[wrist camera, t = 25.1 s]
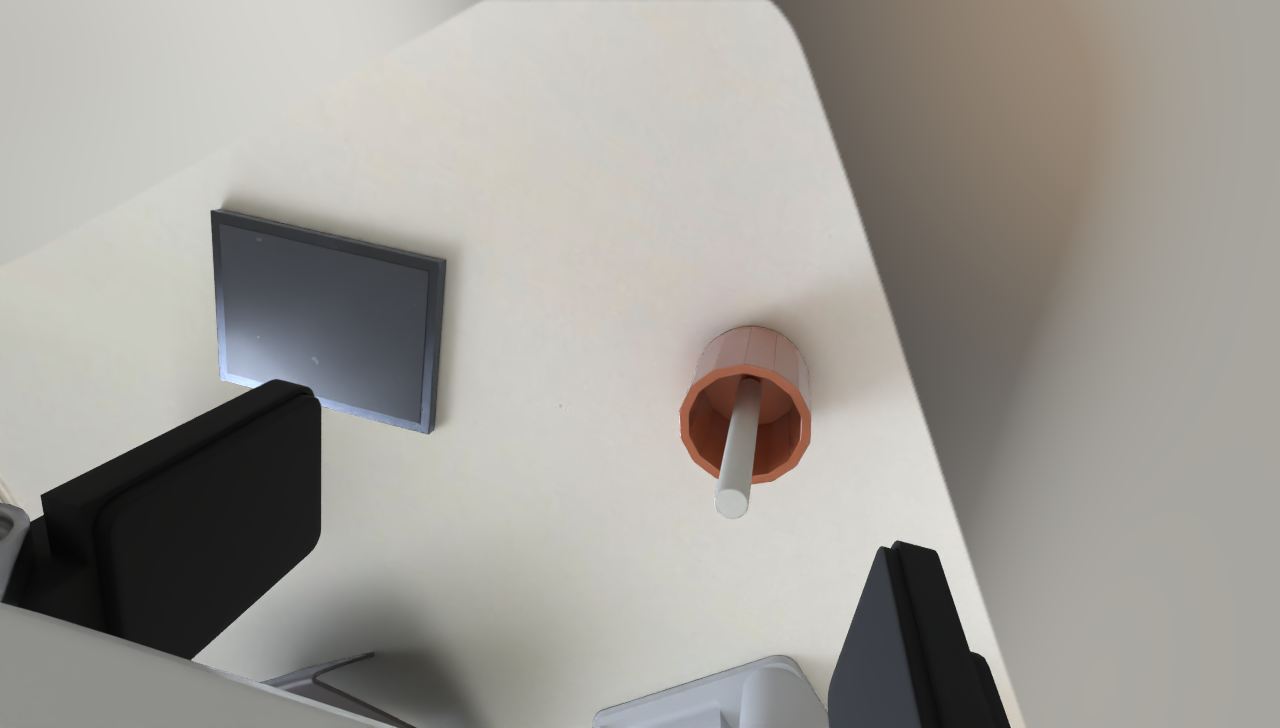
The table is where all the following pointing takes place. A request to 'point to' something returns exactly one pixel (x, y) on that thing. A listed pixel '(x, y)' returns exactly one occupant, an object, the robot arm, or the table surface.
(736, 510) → the stylus
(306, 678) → the laptop tray
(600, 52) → the table surface
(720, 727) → the phone holder
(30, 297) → the table surface
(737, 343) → the pencil cup
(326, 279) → the tablet
